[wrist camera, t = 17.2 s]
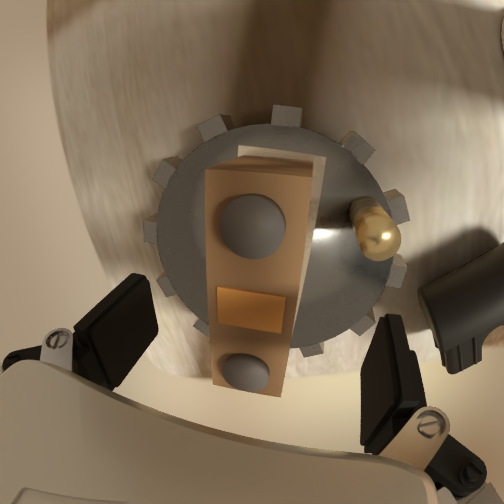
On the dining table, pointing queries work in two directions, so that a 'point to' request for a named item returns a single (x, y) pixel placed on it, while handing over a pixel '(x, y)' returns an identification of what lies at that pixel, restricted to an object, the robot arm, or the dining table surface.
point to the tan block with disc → (254, 266)
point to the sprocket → (318, 229)
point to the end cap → (465, 308)
